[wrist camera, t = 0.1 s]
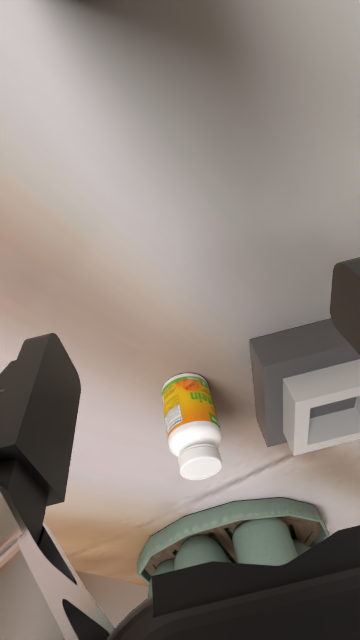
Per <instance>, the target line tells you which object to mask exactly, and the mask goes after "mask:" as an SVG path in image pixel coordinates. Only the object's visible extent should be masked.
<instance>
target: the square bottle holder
mask: <svg viewBox="0 0 360 640" xmlns="http://www.w3.org/2000/svg"><path fill="white" fill-rule="evenodd" d="M249 342H250V352H251V363H252V374H253V384H254V395H255V406H256V416H257V422H258V424H259V427H260V429H261V432H262V434H263V437H264V439H265V442H266V445H267V447H270V446H274V445H278V444H282V443H286V442H288V444H289V447H290V449H291V451H292V453H293V456H295V455H299V454H303V453H307V452H311V451H315V450H318V449H322V448H326V447H330V446H334V445H338V444H342V443H346V442H350V441H354V440H358V439H360V355H359V354H358V353H357V352H356V351H355V349H354V348H353V347H352V346H351V345H350V344H349V343H348V342H347V340H346V339H345V338H344V337H343V336H342V335H341V334H340V333H339V331H338V330H337V329H336V328H335V326H334V324H333V321H332V319H328V320H324V321H320V322H316V323H312V324H308V325H304V326H300V327H297V328H293V329H289V330H285V331H281V332H277V333H273V334H269V335H265V336H261V337H257V338H254V339H250V340H249Z"/></svg>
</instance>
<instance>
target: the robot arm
mask: <svg viewBox="0 0 360 640" xmlns="http://www.w3.org/2000/svg"><path fill="white" fill-rule="evenodd" d="M330 314H331V318H332V321H333V324H334V326H335V328H336V329H337V330H338V331H339V333H340V334H341V335H342V336H343V337H344V338H345V339H346V340H347V342H348V343H349V344H350V345H351V346H352V347H353V348H354V349H355V351H356V352H357V353H358V354H359V355H360V258H356V259H352V260H347V261H343V262H339V263H337V264H336V265H335V266H334V269H333V278H332V291H331V304H330ZM80 393H81V385H80V379H79V376H78V373H77V371H76V369H75V367H74V365H73V363H72V361H71V359H70V358H69V356H68V354H67V352H66V350H65V348H64V347H63V345H62V343H61V341H60V339H59V338H58V336H57V335H56V334H54V333H50V334H46V335H42V336H38V337H34V338H30V339H27V340H25V341H24V343H23V345H22V348H21V350H20V353H19V355H18V358H17V360H15V361H11V362H10V363H9V365H8V366H7V367H6V368H5V369H4V370H3V371H2V373H1V374H0V640H360V525H359V526H355V527H351V528H347V529H343V530H339V531H337V532H335V533H334V534H332V535H331V536H329V537H328V538H326V539H324V540H323V541H321V542H320V543H318V544H316V545H315V546H313V547H312V548H310V549H309V550H307V551H305V552H304V553H302V554H301V555H299V556H298V557H296V558H294V559H293V560H291V561H290V562H288V563H286V564H284V565H280V566H272V565H258V564H244V563H230V562H216V561H211V562H207V563H203V564H199V565H195V566H191V567H186V568H182V569H178V570H174V571H170V572H166V573H162V574H158V575H154V576H152V596H151V597H149V598H147V599H146V600H145V601H143V602H142V603H141V604H140V605H138V606H137V607H136V608H135V609H133V610H132V611H131V612H130V613H129V614H128V615H127V616H126V617H125V619H123V621H121V623H119V625H118V626H117V627H116V628H114V627H113V625H112V624H111V622H110V621H109V619H108V618H107V616H106V615H105V613H104V612H103V610H102V609H101V608H100V607H99V605H98V604H97V603H96V602H95V600H94V599H93V598H92V597H91V595H90V594H89V593H88V591H87V590H86V588H85V587H84V585H83V584H82V582H81V580H80V579H79V577H78V575H77V574H76V572H75V570H74V569H73V567H72V566H71V564H70V562H69V561H68V559H67V557H66V556H65V554H64V552H63V551H62V549H61V547H60V546H59V544H58V543H57V541H56V539H55V538H54V536H53V534H52V533H51V531H50V529H49V528H48V526H47V525H46V524H45V522H44V521H43V520H44V515H45V510H46V506H49V505H53V504H57V503H61V502H64V499H65V493H66V486H67V479H68V473H69V466H70V460H71V453H72V446H73V440H74V433H75V426H76V420H77V413H78V406H79V400H80Z"/></svg>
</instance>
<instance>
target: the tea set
mask: <svg viewBox="0 0 360 640" xmlns="http://www.w3.org/2000/svg"><path fill="white" fill-rule="evenodd" d="M328 536H329V532H328V530H327V528H326V525H325V523H324V521H323V519H322V517H321V515H320V513H319V511H318V510H317V509H316V508H315V507H314V506H313V505H312V504H307V503H303V502H299V501H295V500H290V499H286V498H271V499H259V500H247V501H235V502H231V503H228V504H224V505H221V506H218V507H214V508H211V509H208V510H204V511H201V512H198V513H194V514H191V515H188V516H185V517H183V518H181V519H179V520H178V521H176V522H174V523H173V524H171V525H169V526H168V527H166V528H164V529H163V530H161V531H159V532H158V533H156V534H154V535H153V536H151V537H150V538H149V539H148V541H147V543H146V545H145V547H144V548H143V550H142V552H141V554H140V556H139V558H138V562H137V573H138V575H139V576H140V577H141V578H142V579H143V580H144V581H145V582H146V583H147V584H148V585H149V591H148V598H149V597H151V596H152V576H154V575H158V574H162V573H166V572H170V571H174V570H178V569H182V568H186V567H191V566H195V565H199V564H203V563H207V562H211V561H216V562H230V563H244V564H258V565H272V566H280V565H284V564H286V563H288V562H290V561H291V560H293V559H294V558H296V557H298V556H299V555H301V554H302V553H304V552H305V551H307V550H309V549H310V548H312V547H313V546H315V545H316V544H318V543H320V542H321V541H323V540H324V539H326V538H327V537H328Z"/></svg>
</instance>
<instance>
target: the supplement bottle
mask: <svg viewBox="0 0 360 640" xmlns="http://www.w3.org/2000/svg"><path fill="white" fill-rule="evenodd" d="M162 401H163V409H164V416H165V423H166V431H167V438H168V444H169V448H170V450H171V452H172V453H173V454H174V455H175V456H177V457H178V465H179V470H180V474H181V475H182V477H184V478H186V479H189V480H201V479H205V478H208V477H211V476H213V475H215V474H216V473H217V472H219V471H220V469H221V467H222V461H221V457H220V453H219V450H218V447H219V446H220V444H221V441H222V434H221V430H220V426H219V423H218V420H217V416H216V412H215V409H214V405H213V402H212V398H211V394H210V390H209V387H208V384H207V382H206V380H205V379H204V378H203V377H201V376H200V375H197V374H193V373H184V374H179V375H176V376H174V377H172V378H170V379H169V380H168V381H167V382H166V383H165V384H164V386H163V388H162Z"/></svg>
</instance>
